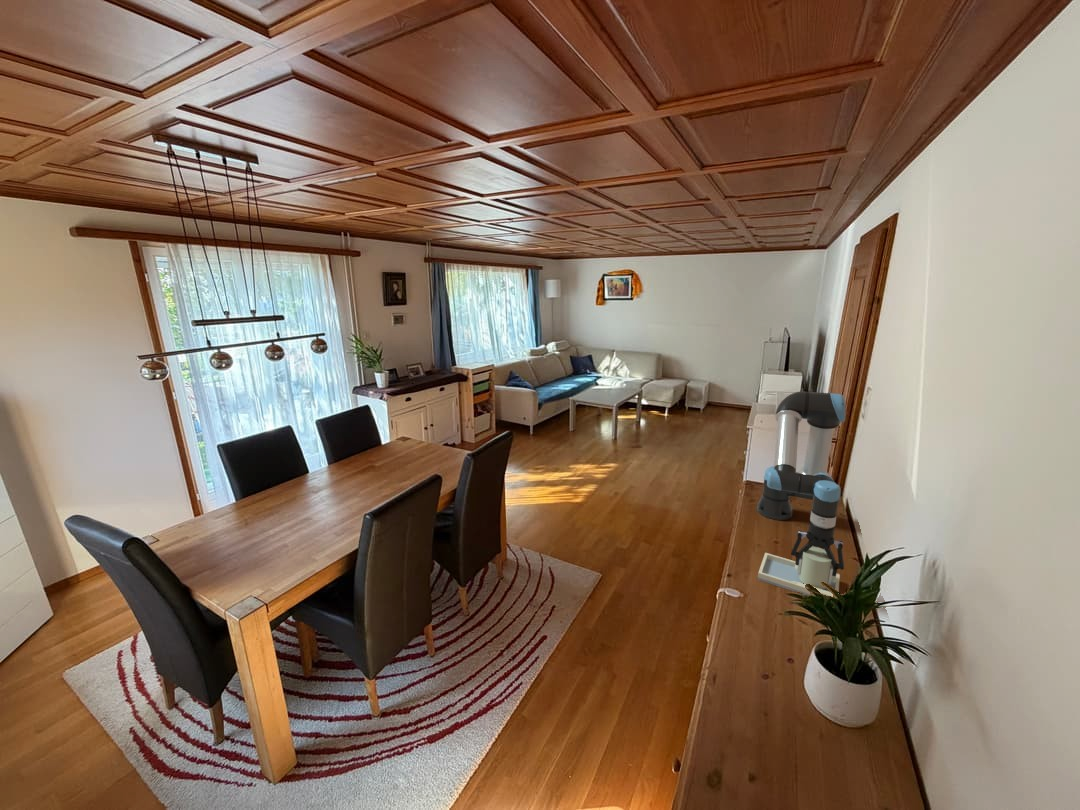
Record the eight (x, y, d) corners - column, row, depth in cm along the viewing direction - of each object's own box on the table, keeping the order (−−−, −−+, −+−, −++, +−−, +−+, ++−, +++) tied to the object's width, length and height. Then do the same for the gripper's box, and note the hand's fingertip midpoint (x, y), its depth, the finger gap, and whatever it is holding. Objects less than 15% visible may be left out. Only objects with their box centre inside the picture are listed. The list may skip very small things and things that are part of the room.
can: (833, 590, 150) (837, 561, 147) (804, 588, 152) (808, 559, 149) (822, 573, 159) (826, 546, 156) (795, 571, 161) (798, 544, 158)
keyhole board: (764, 558, 172) (765, 552, 171) (838, 581, 157) (839, 574, 157) (757, 579, 160) (758, 572, 160) (836, 605, 146) (838, 598, 145)
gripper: (785, 519, 153) (779, 572, 159) (859, 538, 140) (849, 594, 146) (788, 510, 158) (782, 561, 164) (860, 527, 146) (850, 582, 152)
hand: (814, 577), depth 155 cm, fingers closed on can, 9 cm apart
